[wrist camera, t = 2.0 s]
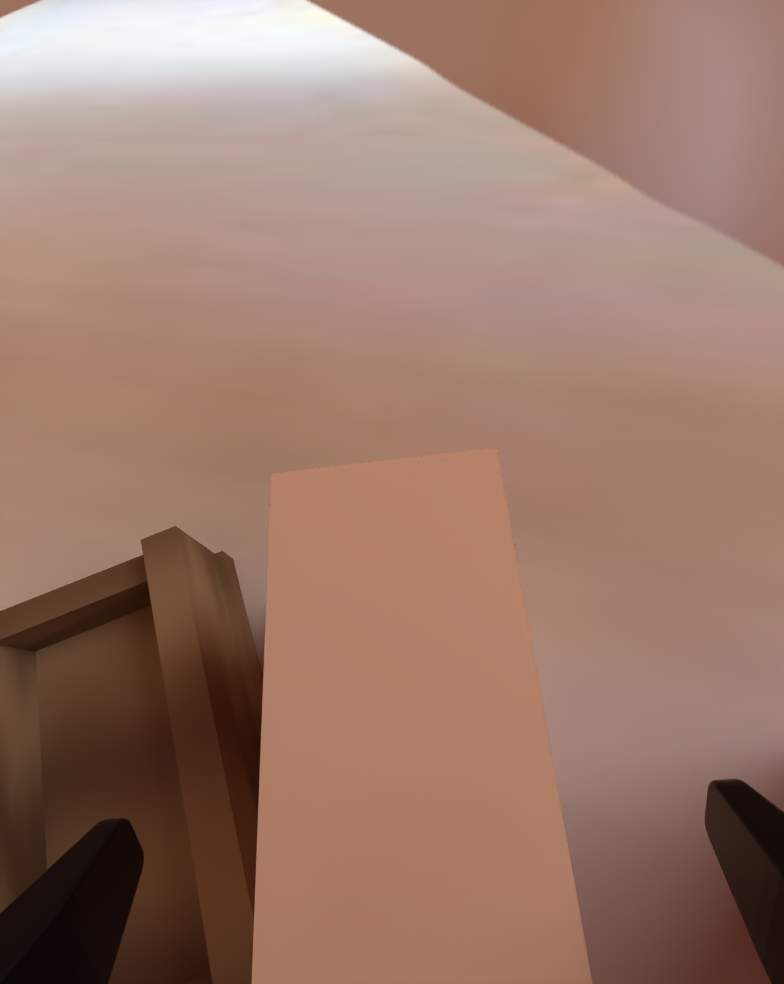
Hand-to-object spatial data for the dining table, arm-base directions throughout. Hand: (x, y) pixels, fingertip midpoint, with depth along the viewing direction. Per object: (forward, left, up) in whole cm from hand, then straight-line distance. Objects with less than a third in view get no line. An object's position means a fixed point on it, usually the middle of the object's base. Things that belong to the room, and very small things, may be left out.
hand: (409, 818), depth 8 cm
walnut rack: (-2, +10, -10) cm, 14 cm away
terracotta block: (+2, 0, -10) cm, 10 cm away
